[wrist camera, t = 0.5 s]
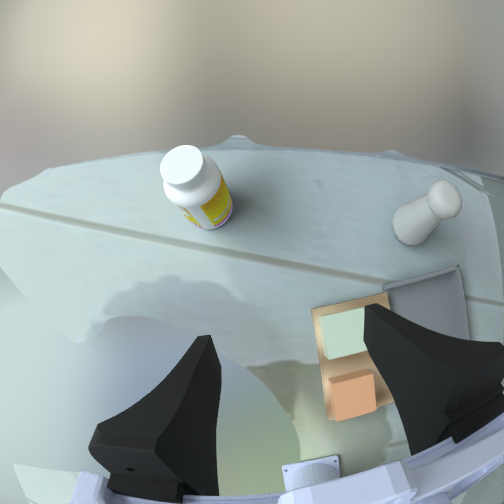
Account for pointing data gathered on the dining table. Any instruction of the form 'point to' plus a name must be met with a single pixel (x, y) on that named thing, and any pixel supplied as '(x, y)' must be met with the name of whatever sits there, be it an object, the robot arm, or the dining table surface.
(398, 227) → the salt shaker
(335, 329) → the tile sage
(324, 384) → the board
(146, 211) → the dining table surface
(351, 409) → the tile terracotta
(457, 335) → the tray
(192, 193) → the supplement bottle
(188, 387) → the robot arm
